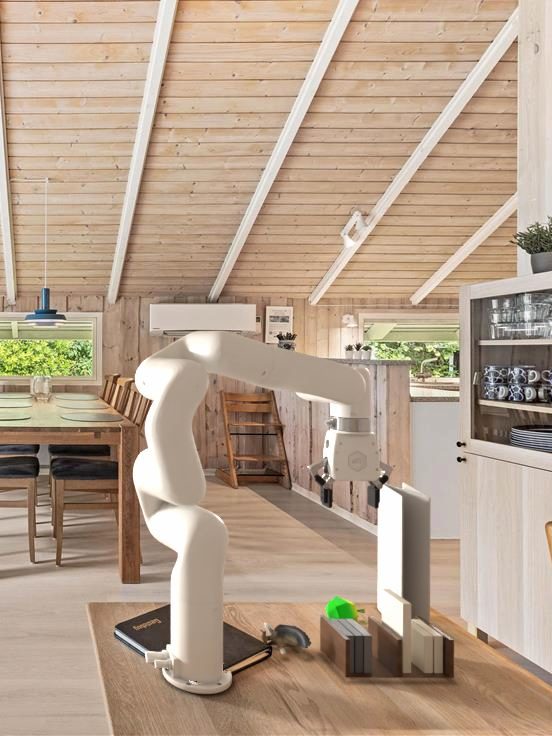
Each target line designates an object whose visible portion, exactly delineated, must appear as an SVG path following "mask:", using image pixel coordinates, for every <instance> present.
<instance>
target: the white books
mask: <svg viewBox="0 0 552 736" xmlns="http://www.w3.org/2000/svg"><path fill="white" fill-rule="evenodd" d="M411 662H412V663H413V664H414V665H415V666H417V667H418V668H419V669H420V670H421V671H422V672H424V673H433V672H434V673H443V636H442V635H441V634H439V633H438V632H437V631H435V630H434V629H432V628H431V627H430V626H428V625H427V624H425V623H424V622H423V621H421V620H420V619H412V620H411Z"/></svg>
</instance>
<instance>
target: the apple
mask: <svg viewBox="0 0 552 736" xmlns="http://www.w3.org/2000/svg"><path fill="white" fill-rule="evenodd" d="M365 612H366V610H365V608H360V609H357V606H356V604H355V603H354V602H352V601H350V600H348V599H345V598H343V597H340V596H338V595H337V596H335V597H333V598H332V599H331V600H329V601H328V602H327V603H326V606H325V613H326V615H327V619H336V620H337V619H353V620H355V621H356V622H357V620H358V619H359V617H360V615H359V613H361V616H362V617H363V619H364V621H365V622H366V624H368V621H367V620H366V618H365V617H364V615H362V614H365Z"/></svg>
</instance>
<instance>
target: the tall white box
mask: <svg viewBox="0 0 552 736" xmlns="http://www.w3.org/2000/svg"><path fill="white" fill-rule="evenodd" d="M431 503H432V502H431V497H430V496H428V495H427V494H425V493H423V492H421V491H420V490H418V489H416V488H415V487H412V486H411V485H409V484H408V483H406V482H402V485H401V487H399V486H396V485H392V484H389V483H387V482H386V483H385V484H384V485H383V488H382V489H380V503H379V508H377V610H378V611H379V612H380V613H381V614H382V589H390V590H392V591H393V592H395V593H396V594H398V595H399V596H401V597H402V598H403V599H405V600H406V601H408V602H409V603H411V620H412V619H416V616H421V617H422V618H424V619H425V620H426V621H428V622H429V623H431V506H432V505H431Z"/></svg>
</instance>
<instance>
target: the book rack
mask: <svg viewBox="0 0 552 736" xmlns="http://www.w3.org/2000/svg"><path fill="white" fill-rule="evenodd" d="M416 619H420V620H421V621H423V622H424V623H425V624H427V625H428V626H430V627H431V628H432V629H434V630H435V631H437V632H438V633H439V634H441V635H442V636H443V673H434V672H433V673H424V672H422V671H421V670H420V669H419V668H418V667H417V666H415V665H414V664H413V663H412V662H411V673H402V640H401V639H400V638H399V637H398V636H396V635H395V634H394V633H393V632H392V631H390V630H389V629H388V628H387V627H385V626H384V625H383V624H382V622H380V621H379V620H378V619H377V618H376V617H374V616H373V615H368V616H367V632H368V633H370V634H371V635H372V673H364V672H363V673H355V672H354V673H350V639H349V638H348V637H347V636H346V635H344V634H343V633H342V632H341V631H340V630H339V629H338V628H337V627H336V626H335V625H334V624H333V623H332V622H331V621H330V620H328V617H326V615H324V614H323V615H320V616H319V651H320V652H321V653H322V654H323V656H324V657H326V658H327V660H328V661H329V662H330V663H332V665H333V666H334V667H335V668H336V669H337V671H339V672H340V673H341V674H342V675H343V677H344V678H346V679H347V678H349V679H351V678H352V679H353V678H354V679H356V678H357V679H362V678H363V679H373V678H374V679H454V678H455V640H454V639H453V638H452V637H451V636H449V635H448V634H446V633H445V632H443V631H442V630H441V629H440V628H438V627H437V626H436V625H434V624H432V623H431V622H430V623H429V622H428V621H426V620H425V619H424V618H422V617H421V616H416Z"/></svg>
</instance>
